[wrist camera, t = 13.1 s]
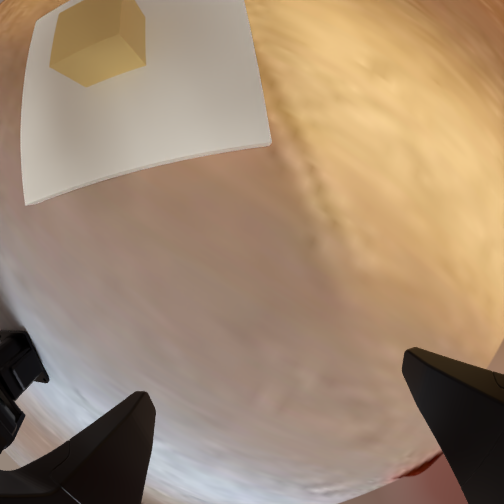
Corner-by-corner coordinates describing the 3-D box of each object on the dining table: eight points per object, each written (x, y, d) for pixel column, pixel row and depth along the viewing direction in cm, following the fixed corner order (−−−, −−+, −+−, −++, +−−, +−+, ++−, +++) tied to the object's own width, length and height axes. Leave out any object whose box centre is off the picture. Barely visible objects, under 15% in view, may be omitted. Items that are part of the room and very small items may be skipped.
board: (35, 203, 18) (25, 205, 16) (43, 25, 13) (36, 20, 12) (269, 145, 18) (271, 142, 16) (232, -40, 13) (231, -49, 12)
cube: (86, 87, 15) (49, 67, 10) (89, 39, 14) (58, 13, 9) (146, 65, 15) (119, 33, 10) (145, 17, 14) (123, -17, 9)
